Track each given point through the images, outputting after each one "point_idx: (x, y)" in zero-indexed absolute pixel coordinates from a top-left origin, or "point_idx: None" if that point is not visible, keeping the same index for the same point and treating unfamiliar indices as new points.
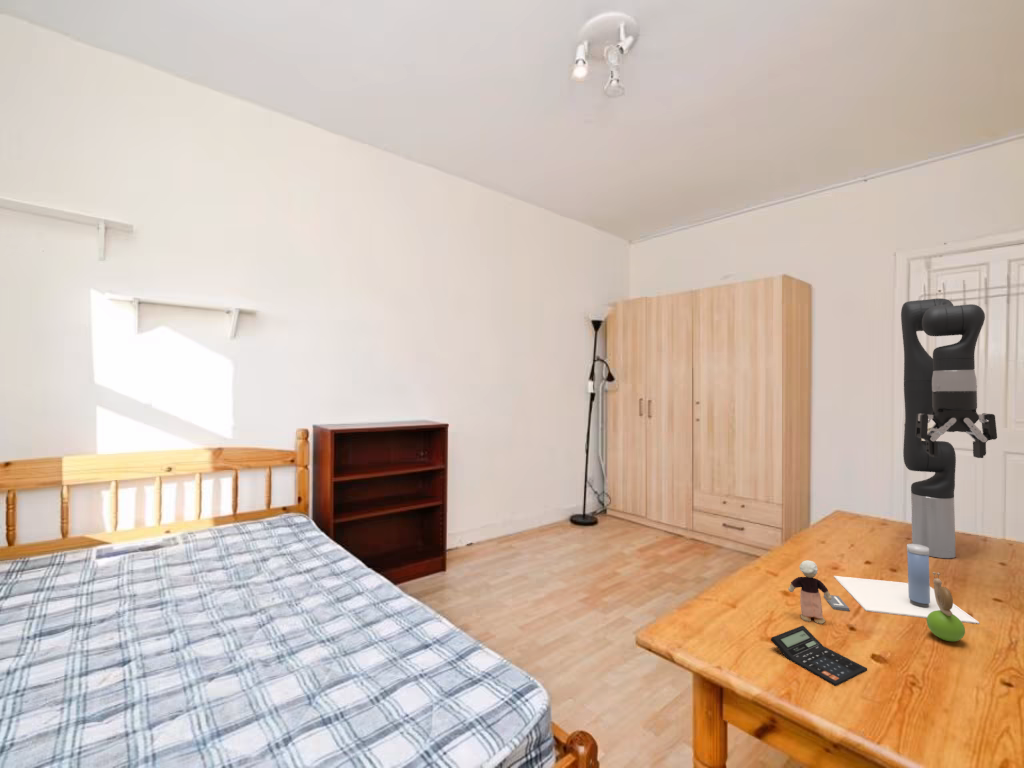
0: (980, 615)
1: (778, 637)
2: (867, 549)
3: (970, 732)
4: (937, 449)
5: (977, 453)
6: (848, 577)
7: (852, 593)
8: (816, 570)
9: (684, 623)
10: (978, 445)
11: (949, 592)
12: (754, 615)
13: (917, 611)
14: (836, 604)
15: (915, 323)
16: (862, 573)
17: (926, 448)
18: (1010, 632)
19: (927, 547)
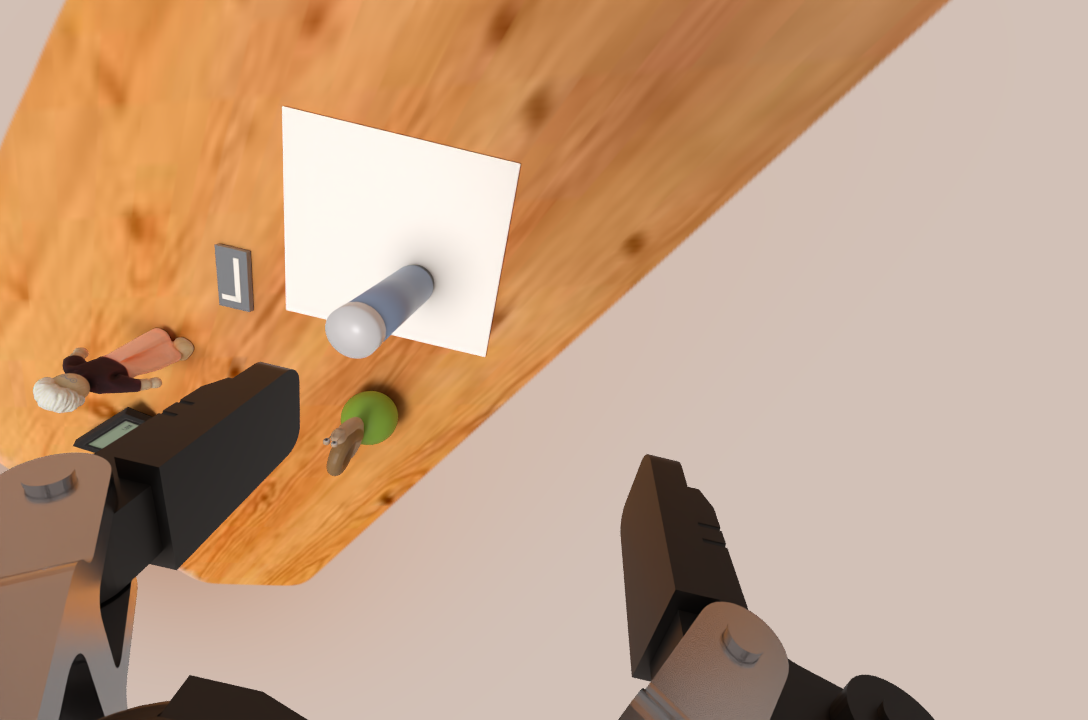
0: (519, 321)
1: (83, 443)
2: None
3: (283, 560)
4: (246, 494)
5: (634, 525)
6: (320, 117)
7: (288, 230)
8: (73, 409)
9: None
10: (635, 622)
11: (335, 474)
12: (66, 330)
13: None
14: (227, 297)
15: None
16: (383, 68)
17: (171, 414)
18: (518, 382)
19: (376, 341)
